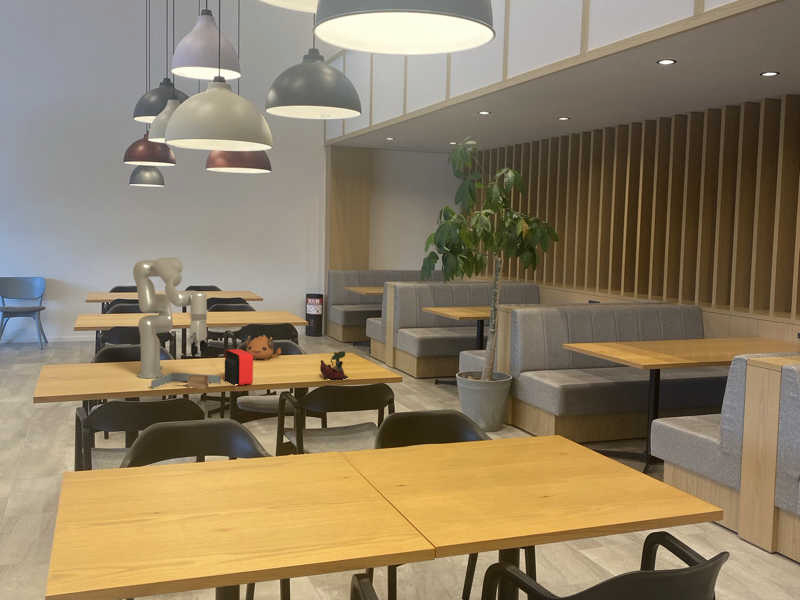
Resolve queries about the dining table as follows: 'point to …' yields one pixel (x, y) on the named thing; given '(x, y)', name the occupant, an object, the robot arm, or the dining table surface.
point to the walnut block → (198, 381)
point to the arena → (181, 378)
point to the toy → (261, 347)
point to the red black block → (238, 367)
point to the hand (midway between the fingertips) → (198, 352)
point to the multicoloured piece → (334, 368)
